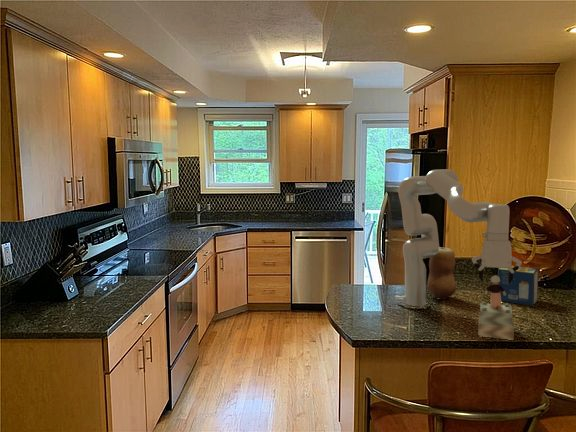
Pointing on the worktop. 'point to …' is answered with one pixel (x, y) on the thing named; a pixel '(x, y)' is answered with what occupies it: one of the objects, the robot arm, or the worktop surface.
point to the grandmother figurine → (495, 292)
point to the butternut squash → (442, 273)
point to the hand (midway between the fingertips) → (495, 281)
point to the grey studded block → (496, 321)
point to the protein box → (520, 285)
